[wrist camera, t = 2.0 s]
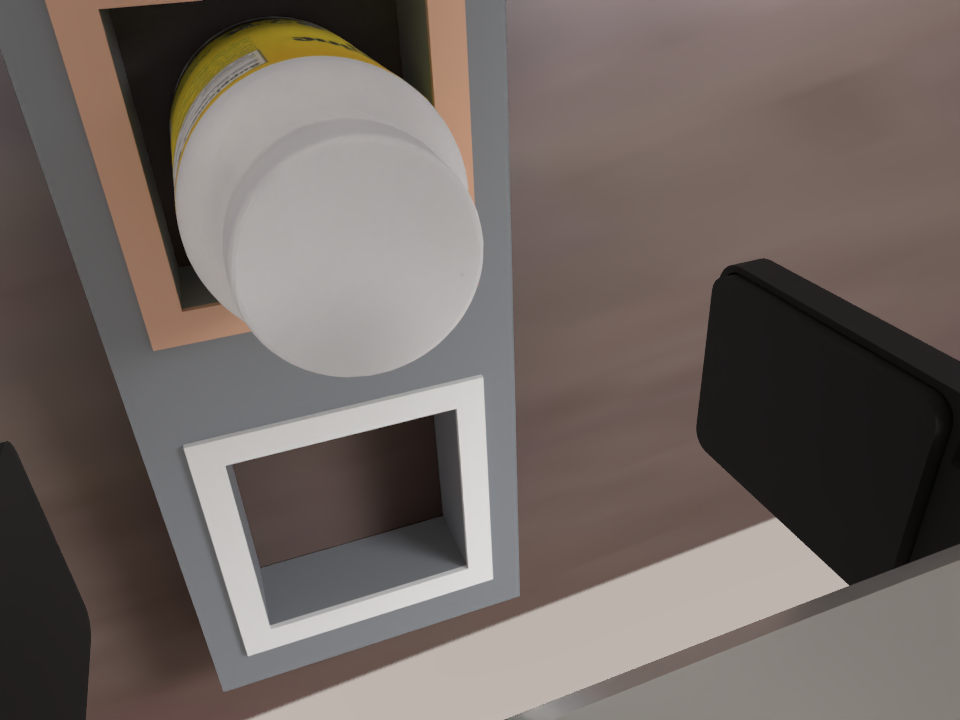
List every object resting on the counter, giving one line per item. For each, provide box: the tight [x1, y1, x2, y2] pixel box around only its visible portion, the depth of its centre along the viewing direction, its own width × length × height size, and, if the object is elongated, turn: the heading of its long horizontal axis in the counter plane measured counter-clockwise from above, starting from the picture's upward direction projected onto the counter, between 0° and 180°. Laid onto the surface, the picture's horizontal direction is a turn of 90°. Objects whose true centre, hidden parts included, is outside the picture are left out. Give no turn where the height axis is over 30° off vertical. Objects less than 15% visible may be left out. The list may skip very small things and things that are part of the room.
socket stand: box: [0, 0, 520, 692], centre depth 25 cm, size 12×26×3 cm, turn 3°
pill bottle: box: [170, 17, 483, 377], centre depth 18 cm, size 6×6×11 cm
